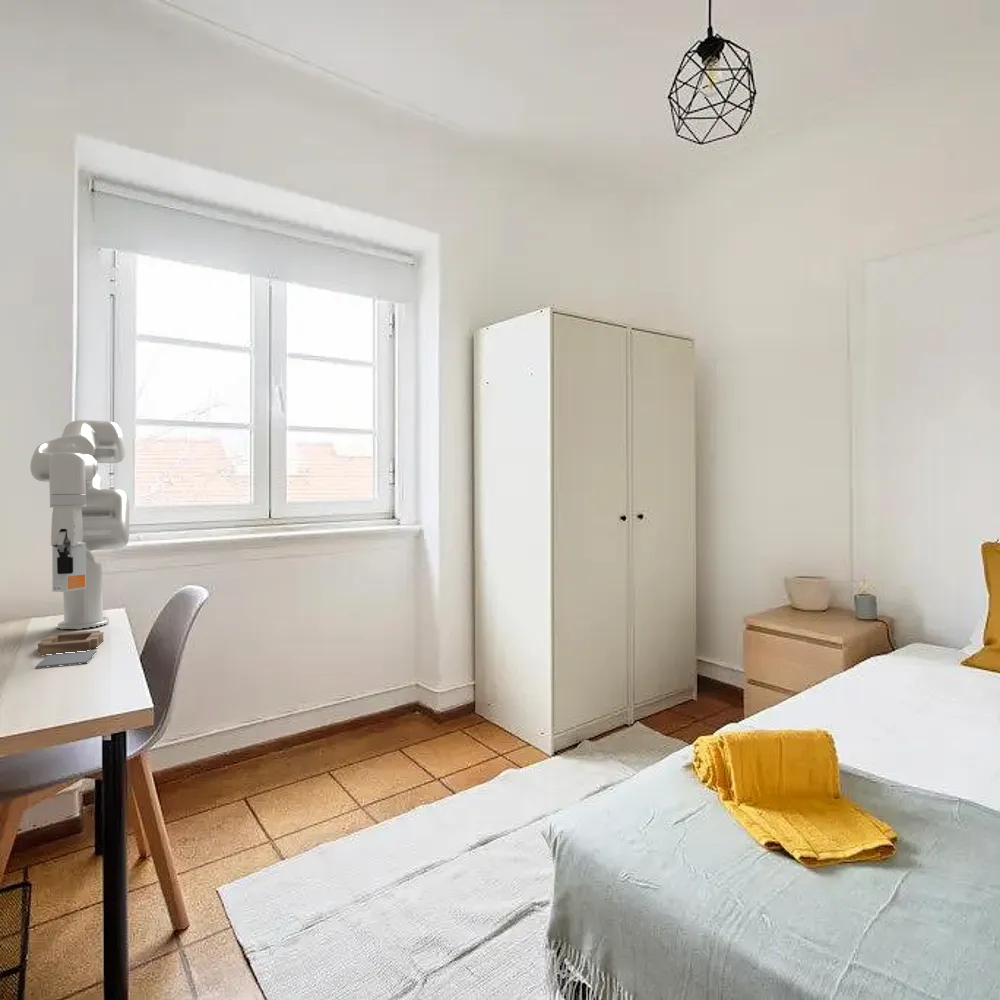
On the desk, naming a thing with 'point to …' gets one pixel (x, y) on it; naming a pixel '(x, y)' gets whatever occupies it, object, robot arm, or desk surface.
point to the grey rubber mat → (66, 659)
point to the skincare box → (74, 579)
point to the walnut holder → (70, 642)
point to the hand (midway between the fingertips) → (69, 571)
